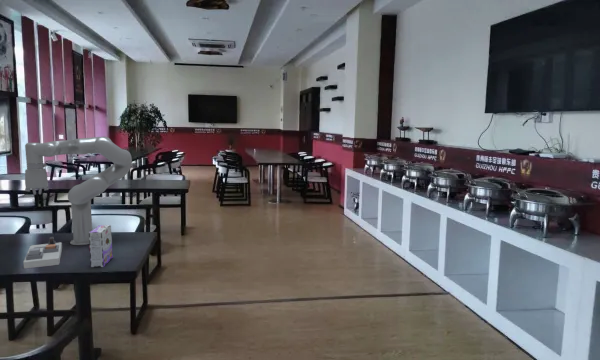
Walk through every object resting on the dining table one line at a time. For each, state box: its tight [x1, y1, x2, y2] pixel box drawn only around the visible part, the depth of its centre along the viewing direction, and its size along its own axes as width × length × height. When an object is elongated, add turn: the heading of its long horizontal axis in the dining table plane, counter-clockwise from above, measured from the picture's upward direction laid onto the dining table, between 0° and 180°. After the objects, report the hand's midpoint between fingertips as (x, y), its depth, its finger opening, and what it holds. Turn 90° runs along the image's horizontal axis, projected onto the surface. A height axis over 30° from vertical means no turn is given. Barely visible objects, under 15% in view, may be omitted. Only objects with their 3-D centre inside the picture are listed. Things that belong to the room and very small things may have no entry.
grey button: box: [28, 248, 40, 256], centre depth 211 cm, size 4×4×2 cm
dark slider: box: [47, 236, 57, 245], centre depth 230 cm, size 3×5×4 cm, turn 25°
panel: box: [22, 242, 63, 270], centre depth 221 cm, size 14×30×5 cm, turn 25°
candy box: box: [88, 224, 114, 268], centre depth 212 cm, size 14×6×16 cm, turn 5°
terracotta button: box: [46, 244, 56, 249], centre depth 222 cm, size 4×4×2 cm
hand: (38, 201), depth 238 cm, fingers closed
